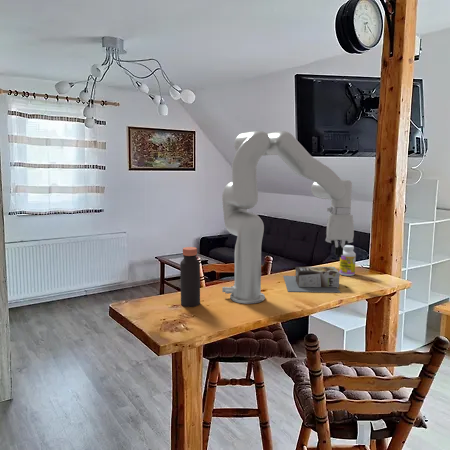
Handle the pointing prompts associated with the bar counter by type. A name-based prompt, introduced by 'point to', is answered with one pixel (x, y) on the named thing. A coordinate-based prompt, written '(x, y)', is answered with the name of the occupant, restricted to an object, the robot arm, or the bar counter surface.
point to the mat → (293, 287)
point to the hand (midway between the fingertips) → (338, 256)
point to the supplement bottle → (347, 261)
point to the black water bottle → (190, 278)
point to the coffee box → (317, 277)
